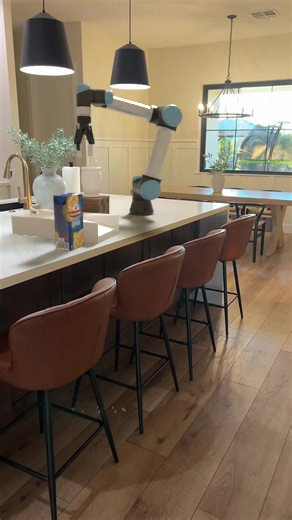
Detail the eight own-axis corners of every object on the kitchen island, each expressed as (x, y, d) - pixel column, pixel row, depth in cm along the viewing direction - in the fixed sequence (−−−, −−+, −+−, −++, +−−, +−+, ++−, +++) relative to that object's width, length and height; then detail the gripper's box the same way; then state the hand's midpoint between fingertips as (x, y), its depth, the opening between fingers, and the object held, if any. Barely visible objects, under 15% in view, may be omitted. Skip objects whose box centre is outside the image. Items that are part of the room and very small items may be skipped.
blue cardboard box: (83, 245, 176) (82, 193, 170) (69, 251, 166) (67, 196, 160) (70, 243, 178) (68, 192, 172) (55, 249, 168) (53, 195, 162)
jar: (82, 195, 216) (81, 166, 212) (102, 195, 217) (101, 166, 213) (81, 198, 206) (80, 167, 202) (101, 198, 207) (101, 167, 203)
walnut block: (85, 222, 224) (85, 194, 220) (110, 224, 220) (109, 196, 216) (73, 227, 211) (72, 197, 207) (98, 229, 207) (98, 199, 203)
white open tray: (118, 234, 199) (118, 215, 197) (98, 244, 179) (98, 222, 177) (39, 226, 214) (38, 208, 211) (12, 235, 194) (11, 215, 191)
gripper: (88, 117, 230) (88, 156, 236) (66, 114, 208) (67, 157, 214) (100, 117, 228) (100, 156, 234) (79, 114, 205) (80, 157, 211)
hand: (85, 156), depth 224 cm, fingers open, 13 cm apart
